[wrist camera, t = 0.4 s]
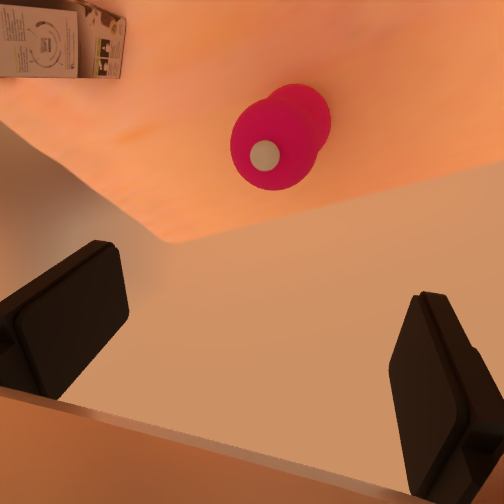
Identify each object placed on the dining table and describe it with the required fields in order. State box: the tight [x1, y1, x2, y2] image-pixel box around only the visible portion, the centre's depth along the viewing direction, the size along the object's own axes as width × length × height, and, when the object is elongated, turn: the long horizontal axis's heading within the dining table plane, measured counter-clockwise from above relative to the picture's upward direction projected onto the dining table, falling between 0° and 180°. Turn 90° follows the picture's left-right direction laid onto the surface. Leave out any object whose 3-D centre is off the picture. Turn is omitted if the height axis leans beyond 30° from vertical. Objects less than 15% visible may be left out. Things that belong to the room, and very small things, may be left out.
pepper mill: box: [230, 84, 331, 191], centre depth 27 cm, size 7×7×20 cm
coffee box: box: [0, 0, 126, 79], centre depth 30 cm, size 9×6×16 cm
